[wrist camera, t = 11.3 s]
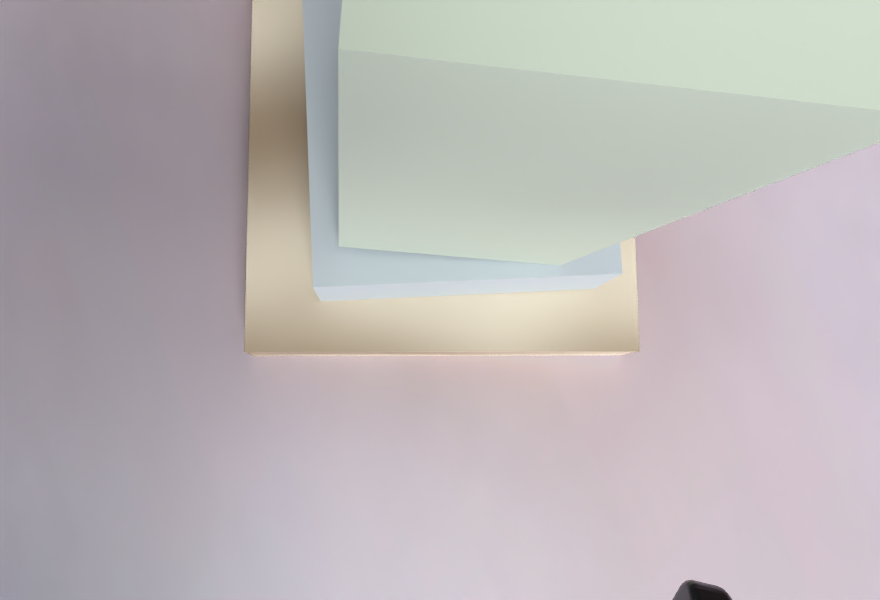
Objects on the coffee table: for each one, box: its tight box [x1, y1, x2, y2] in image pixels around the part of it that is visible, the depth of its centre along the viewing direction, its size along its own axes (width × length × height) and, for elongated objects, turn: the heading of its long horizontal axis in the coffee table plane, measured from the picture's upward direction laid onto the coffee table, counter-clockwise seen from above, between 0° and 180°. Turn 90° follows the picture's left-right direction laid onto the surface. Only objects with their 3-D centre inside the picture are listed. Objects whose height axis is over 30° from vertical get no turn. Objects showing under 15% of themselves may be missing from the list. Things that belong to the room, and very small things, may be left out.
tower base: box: [244, 0, 639, 356], centre depth 23 cm, size 10×10×2 cm
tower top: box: [302, 0, 623, 301], centre depth 20 cm, size 7×7×2 cm
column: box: [338, 0, 880, 266], centre depth 13 cm, size 5×5×12 cm
